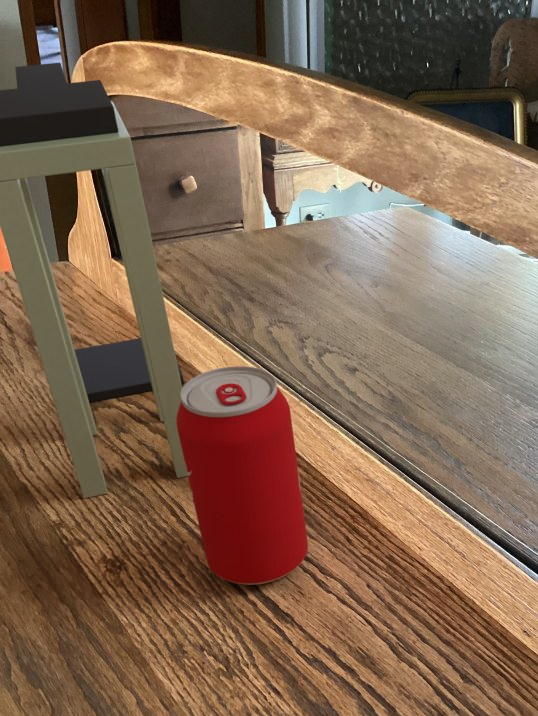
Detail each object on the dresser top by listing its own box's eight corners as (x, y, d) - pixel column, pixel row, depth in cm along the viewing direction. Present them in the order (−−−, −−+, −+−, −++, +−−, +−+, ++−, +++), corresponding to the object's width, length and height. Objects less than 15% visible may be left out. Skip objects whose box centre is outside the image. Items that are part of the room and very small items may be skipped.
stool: (74, 429, 69) (-20, 115, 55) (178, 408, 71) (112, 100, 57) (84, 498, 61) (-22, 154, 48) (199, 473, 63) (130, 136, 50)
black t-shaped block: (-11, 89, 61) (-17, 66, 60) (94, 78, 63) (89, 56, 62) (-12, 148, 49) (-20, 120, 48) (118, 132, 50) (113, 105, 49)
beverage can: (293, 520, 58) (271, 353, 51) (321, 577, 54) (301, 401, 46) (199, 544, 57) (161, 374, 49) (219, 604, 52) (181, 427, 45)
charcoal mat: (66, 359, 78) (63, 351, 78) (168, 341, 81) (167, 332, 80) (72, 406, 72) (70, 397, 71) (184, 384, 74) (182, 376, 73)
